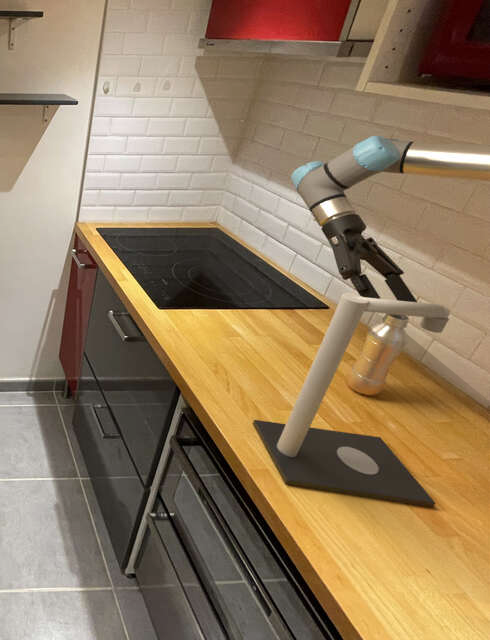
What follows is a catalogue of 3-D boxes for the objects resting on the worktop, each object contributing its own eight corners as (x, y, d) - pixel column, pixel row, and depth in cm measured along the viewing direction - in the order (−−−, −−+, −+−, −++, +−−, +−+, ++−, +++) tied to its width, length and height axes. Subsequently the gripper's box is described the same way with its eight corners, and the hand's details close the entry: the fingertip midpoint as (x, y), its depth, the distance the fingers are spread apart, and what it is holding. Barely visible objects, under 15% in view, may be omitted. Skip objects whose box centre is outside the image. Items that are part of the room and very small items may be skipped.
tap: (377, 441, 89) (464, 288, 74) (432, 507, 76) (550, 339, 61) (252, 423, 92) (311, 274, 78) (285, 484, 80) (362, 320, 65)
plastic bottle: (336, 383, 103) (370, 311, 95) (354, 376, 106) (389, 305, 98) (368, 402, 98) (407, 327, 90) (386, 394, 100) (426, 320, 92)
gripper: (352, 231, 113) (403, 310, 103) (290, 225, 104) (340, 311, 94) (385, 215, 107) (443, 297, 98) (323, 208, 98) (380, 298, 88)
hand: (392, 304), depth 96 cm, fingers open, 13 cm apart
